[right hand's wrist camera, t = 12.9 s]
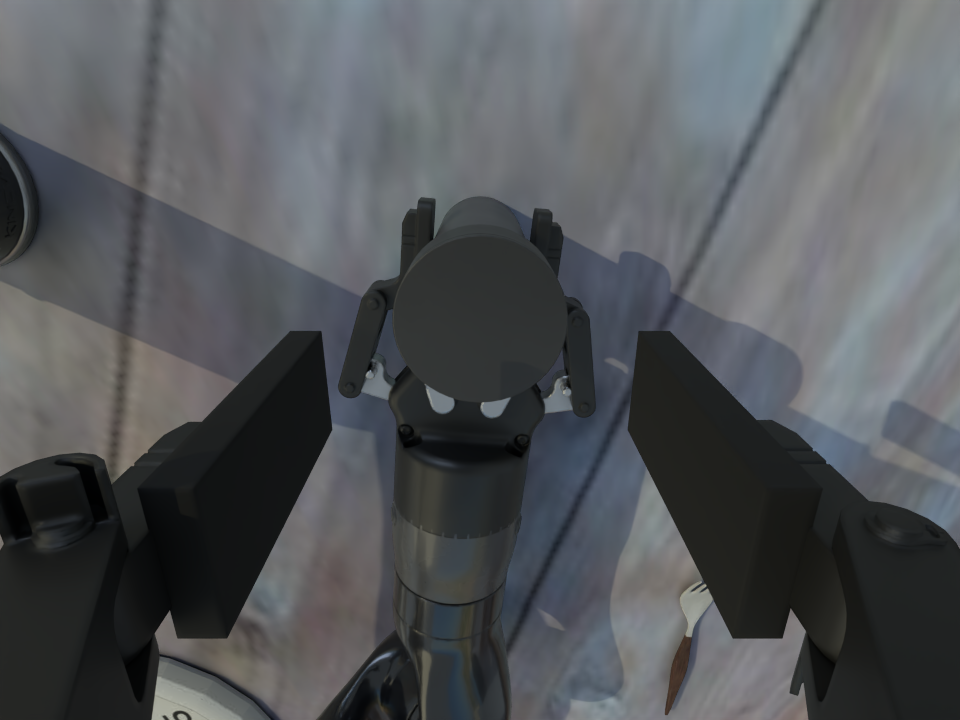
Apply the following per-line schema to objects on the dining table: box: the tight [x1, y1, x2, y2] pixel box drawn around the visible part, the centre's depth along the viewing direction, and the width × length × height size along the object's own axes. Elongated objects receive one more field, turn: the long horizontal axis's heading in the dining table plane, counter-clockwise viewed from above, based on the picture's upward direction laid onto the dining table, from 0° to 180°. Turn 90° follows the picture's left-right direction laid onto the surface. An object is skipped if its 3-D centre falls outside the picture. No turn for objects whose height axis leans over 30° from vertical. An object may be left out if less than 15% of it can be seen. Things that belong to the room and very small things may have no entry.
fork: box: [665, 581, 713, 715], centre depth 44 cm, size 3×16×2 cm, turn 176°
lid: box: [393, 224, 568, 403], centre depth 19 cm, size 6×6×2 cm
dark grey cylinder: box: [435, 197, 525, 238], centre depth 26 cm, size 5×5×16 cm
